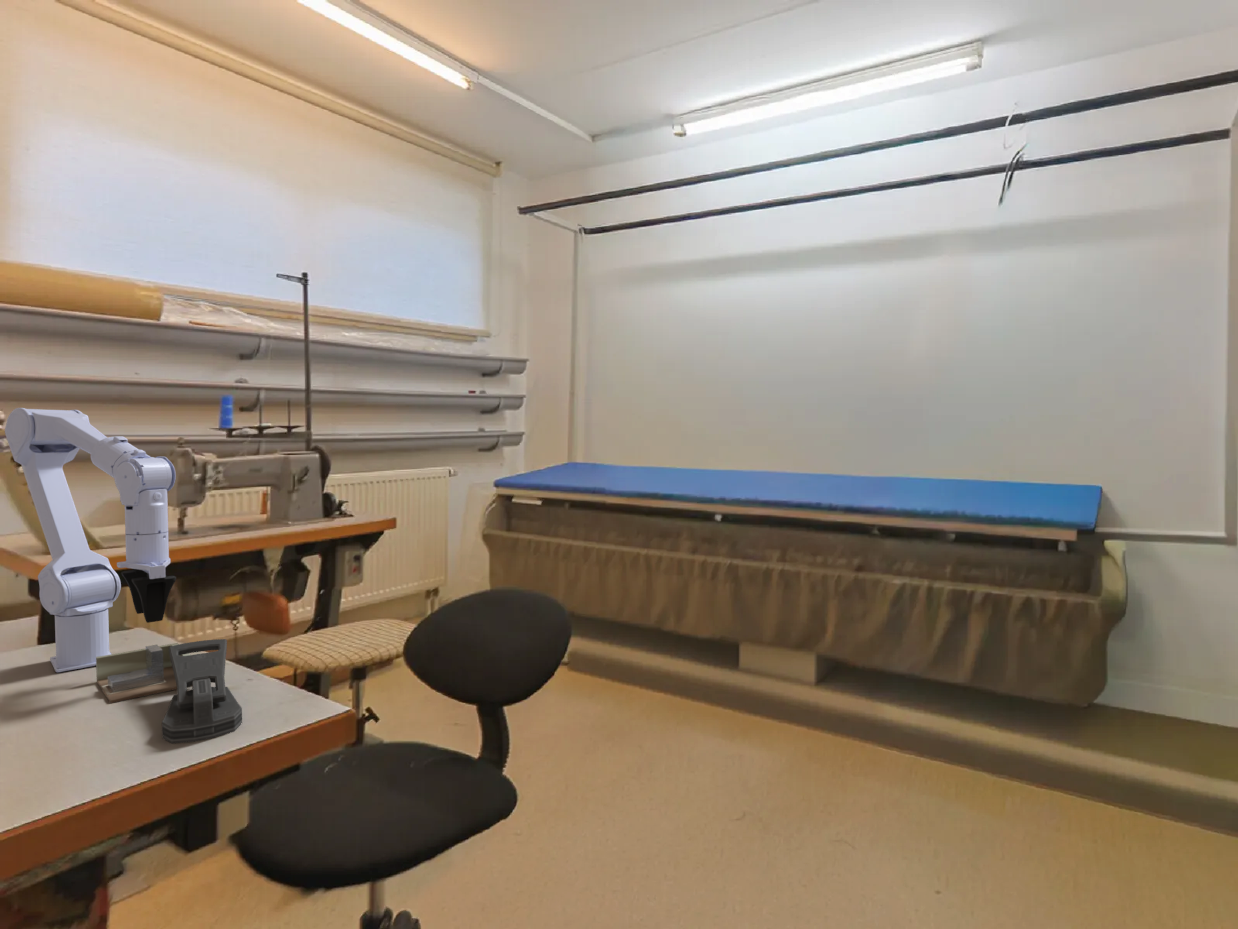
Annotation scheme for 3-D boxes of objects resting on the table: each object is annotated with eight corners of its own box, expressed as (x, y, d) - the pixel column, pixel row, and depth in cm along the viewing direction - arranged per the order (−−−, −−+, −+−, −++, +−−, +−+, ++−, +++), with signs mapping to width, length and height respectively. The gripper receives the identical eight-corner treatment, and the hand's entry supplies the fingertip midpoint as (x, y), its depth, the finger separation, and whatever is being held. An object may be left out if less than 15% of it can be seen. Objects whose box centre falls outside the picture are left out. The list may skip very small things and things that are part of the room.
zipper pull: (230, 636, 112) (243, 682, 91) (231, 677, 112) (244, 732, 91) (163, 645, 107) (160, 696, 86) (164, 688, 107) (162, 749, 86)
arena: (96, 681, 110) (96, 657, 110) (177, 665, 117) (177, 642, 117) (110, 703, 101) (109, 676, 101) (197, 684, 108) (196, 659, 108)
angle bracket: (158, 675, 111) (156, 644, 111) (163, 681, 108) (162, 649, 108) (107, 686, 107) (106, 653, 106) (112, 693, 104) (111, 659, 103)
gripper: (108, 530, 115) (111, 613, 115) (125, 539, 104) (127, 630, 105) (159, 526, 119) (161, 605, 120) (180, 535, 109) (182, 621, 109)
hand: (149, 616), depth 113 cm, fingers open, 7 cm apart
